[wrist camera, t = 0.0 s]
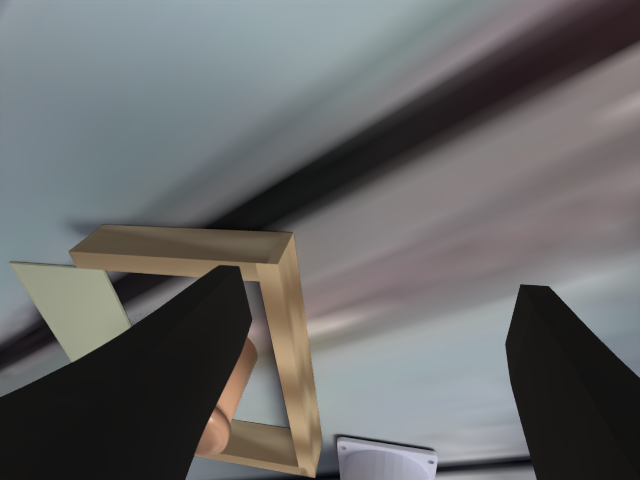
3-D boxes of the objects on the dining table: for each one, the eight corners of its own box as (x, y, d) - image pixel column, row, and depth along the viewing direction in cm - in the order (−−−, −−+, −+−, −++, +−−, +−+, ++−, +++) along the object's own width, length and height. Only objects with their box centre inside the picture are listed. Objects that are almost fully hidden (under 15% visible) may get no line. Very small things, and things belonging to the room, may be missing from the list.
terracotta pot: (266, 377, 30) (234, 461, 25) (200, 368, 31) (156, 447, 26) (254, 324, 27) (214, 408, 22) (181, 318, 28) (127, 395, 23)
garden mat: (164, 394, 35) (162, 396, 35) (87, 383, 36) (86, 384, 36) (104, 268, 27) (102, 270, 27) (11, 261, 29) (8, 263, 29)
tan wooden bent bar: (322, 441, 34) (315, 477, 31) (190, 420, 36) (173, 452, 34) (293, 232, 22) (277, 264, 20) (102, 224, 25) (68, 251, 22)
